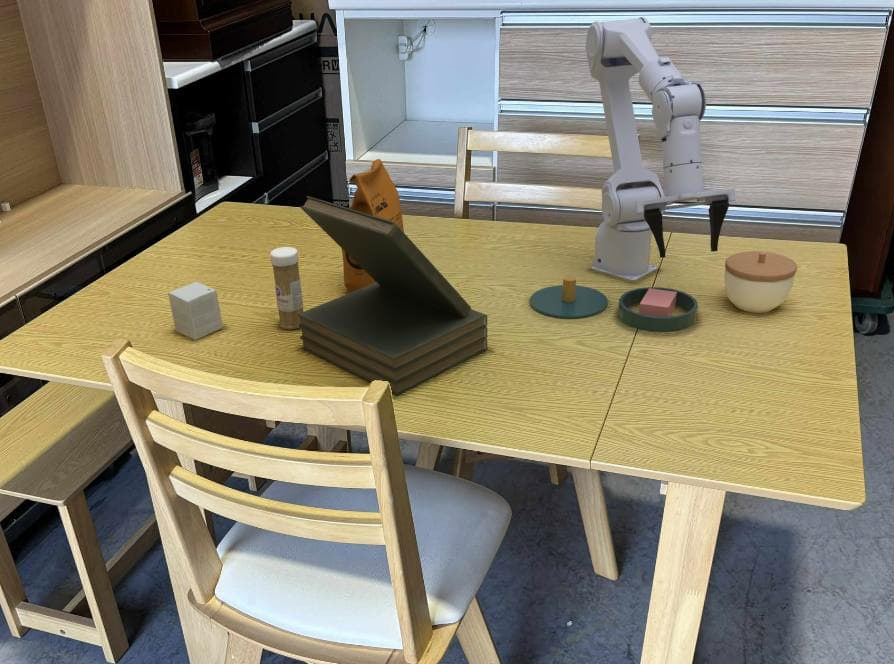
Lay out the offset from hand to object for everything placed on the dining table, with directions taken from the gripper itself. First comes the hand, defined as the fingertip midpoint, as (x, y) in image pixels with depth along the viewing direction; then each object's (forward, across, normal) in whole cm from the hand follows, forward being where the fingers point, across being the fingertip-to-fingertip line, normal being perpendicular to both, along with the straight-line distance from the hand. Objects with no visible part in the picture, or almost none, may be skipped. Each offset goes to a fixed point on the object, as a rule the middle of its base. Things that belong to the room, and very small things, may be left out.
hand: (688, 254), depth 136 cm
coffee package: (-1, -54, +13) cm, 56 cm away
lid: (+6, -19, +7) cm, 21 cm away
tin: (+10, -5, +4) cm, 12 cm away
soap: (+10, -5, +4) cm, 11 cm away
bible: (+10, -47, -11) cm, 49 cm away
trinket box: (+10, +11, +9) cm, 17 cm away
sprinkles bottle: (+4, -65, -4) cm, 66 cm away
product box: (+3, -81, -7) cm, 82 cm away
